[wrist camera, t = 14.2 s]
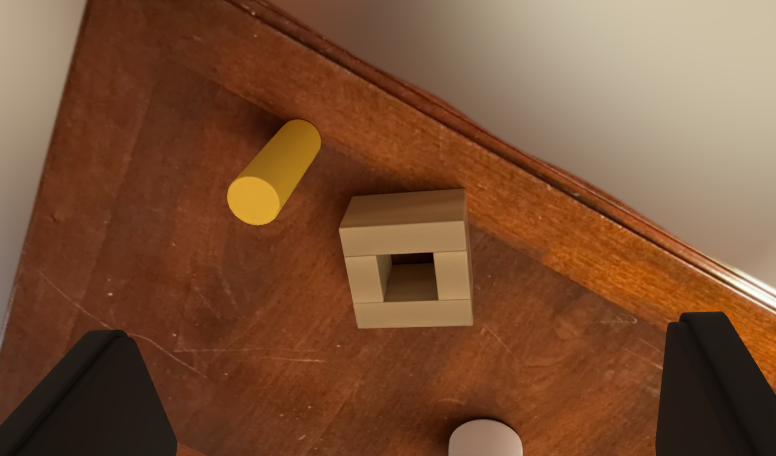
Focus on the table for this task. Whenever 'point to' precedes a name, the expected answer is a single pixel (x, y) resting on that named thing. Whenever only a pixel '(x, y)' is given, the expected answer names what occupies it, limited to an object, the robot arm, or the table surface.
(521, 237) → the table surface
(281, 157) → the peg
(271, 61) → the table surface
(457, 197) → the stand
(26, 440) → the robot arm
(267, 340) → the table surface
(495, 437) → the can
